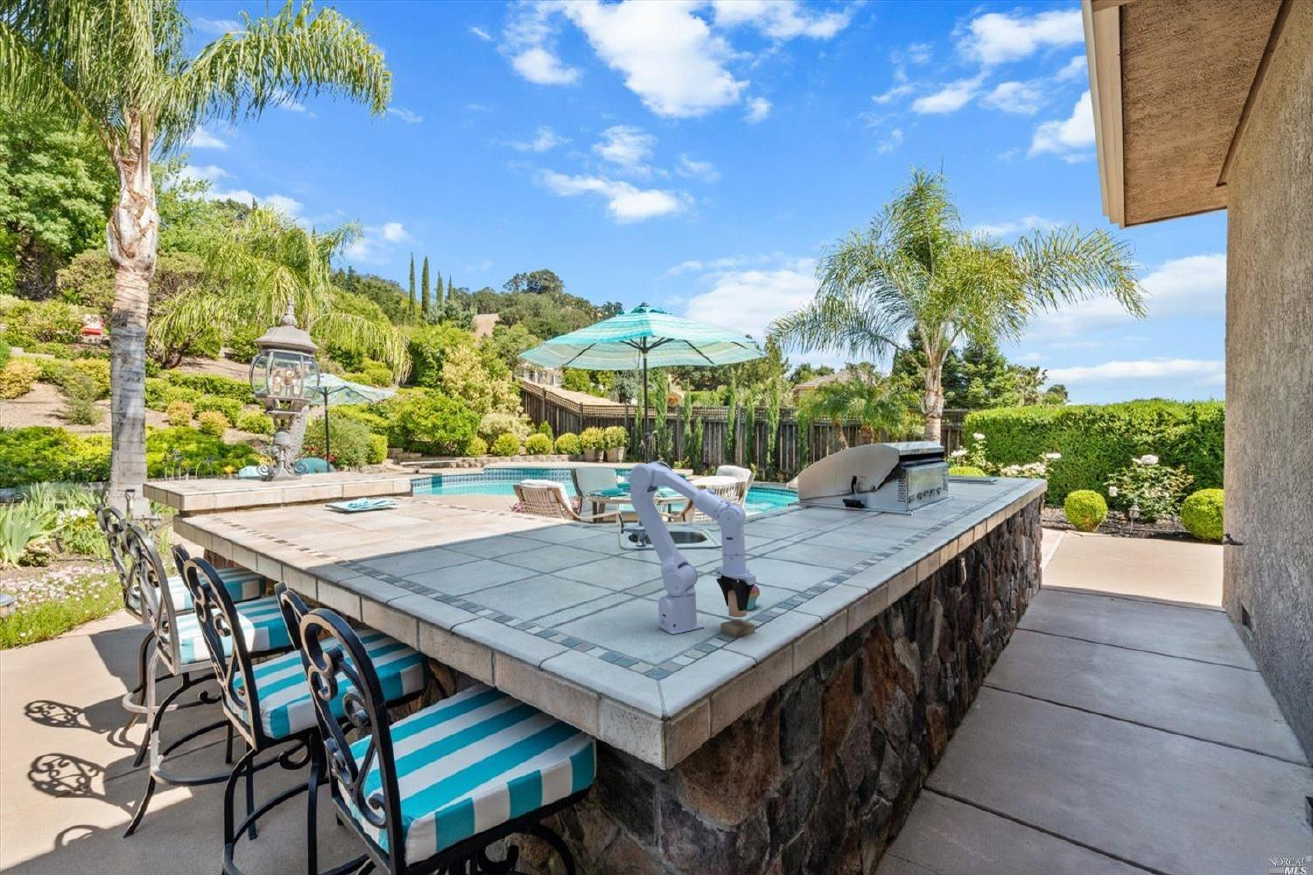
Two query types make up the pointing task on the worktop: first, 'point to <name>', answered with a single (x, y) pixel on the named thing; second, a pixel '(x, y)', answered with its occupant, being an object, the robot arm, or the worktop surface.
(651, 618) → the worktop surface
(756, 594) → the cupcake
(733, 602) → the jar
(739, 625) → the base
